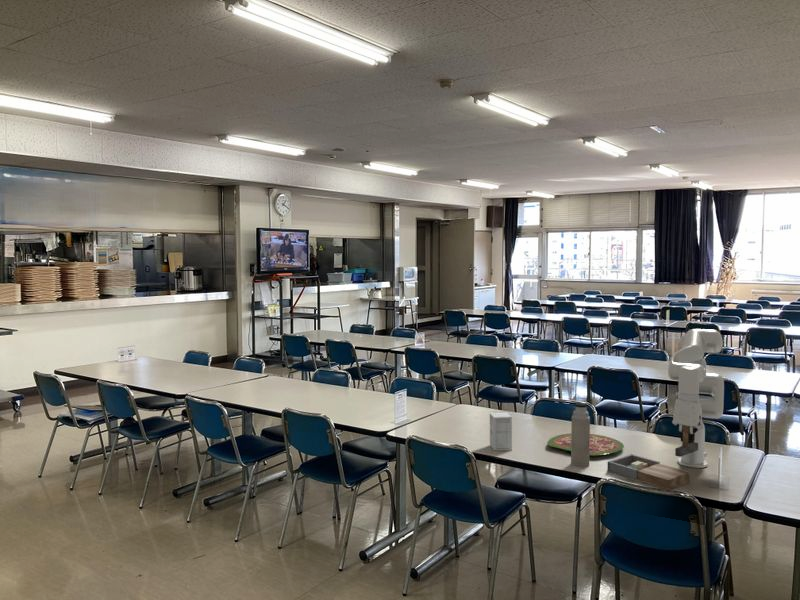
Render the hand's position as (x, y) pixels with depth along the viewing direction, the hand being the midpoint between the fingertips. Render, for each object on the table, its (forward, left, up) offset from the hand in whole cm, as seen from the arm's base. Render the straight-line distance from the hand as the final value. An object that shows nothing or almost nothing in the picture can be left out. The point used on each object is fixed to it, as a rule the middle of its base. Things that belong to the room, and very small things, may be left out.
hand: (687, 441), depth 255 cm
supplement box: (+21, -84, -19) cm, 89 cm away
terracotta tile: (-3, -23, -16) cm, 28 cm away
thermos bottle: (+11, -44, -19) cm, 49 cm away
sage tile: (+4, -19, -16) cm, 25 cm away
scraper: (0, 0, -5) cm, 5 cm away
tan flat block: (0, -10, -19) cm, 22 cm away
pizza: (-14, -59, -20) cm, 64 cm away
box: (0, -24, -19) cm, 31 cm away
